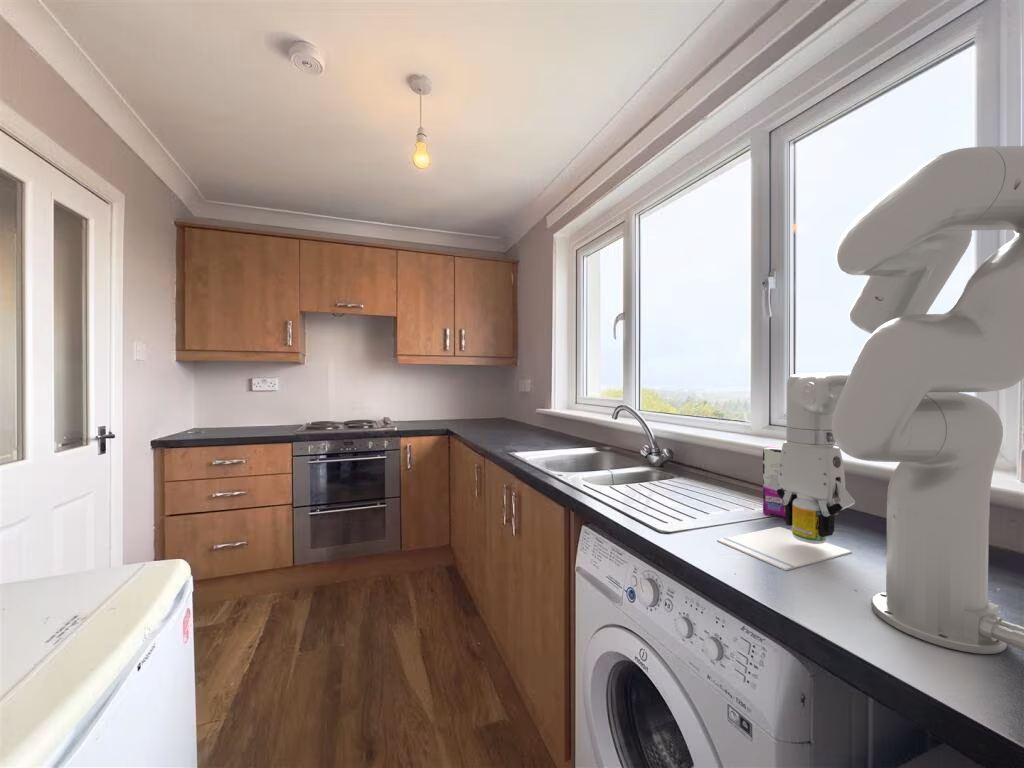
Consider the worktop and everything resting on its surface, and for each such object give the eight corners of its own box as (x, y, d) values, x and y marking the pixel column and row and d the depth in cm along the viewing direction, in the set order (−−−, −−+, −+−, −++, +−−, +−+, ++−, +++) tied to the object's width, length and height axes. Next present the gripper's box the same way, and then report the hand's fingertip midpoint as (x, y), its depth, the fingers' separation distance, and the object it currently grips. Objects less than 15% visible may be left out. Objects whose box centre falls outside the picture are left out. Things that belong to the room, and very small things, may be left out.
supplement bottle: (799, 531, 83) (799, 485, 83) (830, 540, 79) (831, 491, 78) (786, 537, 80) (787, 489, 80) (818, 547, 76) (819, 495, 76)
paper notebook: (851, 552, 78) (851, 550, 78) (785, 570, 71) (785, 568, 71) (779, 528, 91) (779, 526, 91) (717, 541, 84) (717, 539, 84)
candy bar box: (821, 519, 96) (821, 450, 96) (818, 525, 93) (819, 453, 92) (766, 509, 104) (766, 445, 104) (762, 514, 100) (762, 447, 100)
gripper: (873, 442, 73) (872, 543, 73) (779, 431, 88) (778, 513, 89) (848, 445, 70) (846, 550, 70) (755, 432, 86) (754, 518, 86)
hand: (808, 528), depth 79 cm, fingers closed on supplement bottle, 5 cm apart
